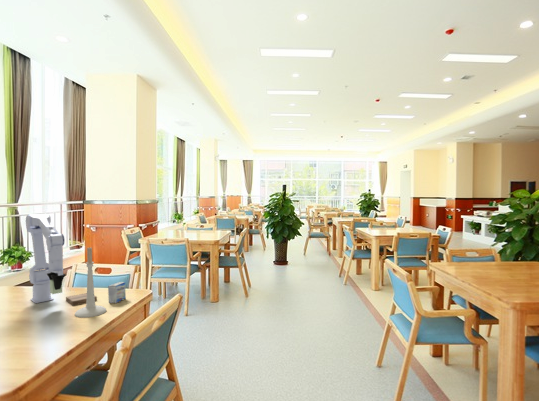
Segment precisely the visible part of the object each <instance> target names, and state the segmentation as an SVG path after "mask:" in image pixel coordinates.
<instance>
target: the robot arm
mask: <svg viewBox="0 0 539 401" xmlns="http://www.w3.org/2000/svg"><path fill="white" fill-rule="evenodd" d="M25 227H26V232H28V233H30V234H31V235H30V236H31V240H32V241H31V242H32V248H33V256H34V265H33V266H32V267H31V268H30V269H29V282H30V284H31V285H32V284H33V286H32V298H30V300H31V301H32V302H33V303H35V304H38V303H43V302H49V301H53V300H54V298H53V297H52V293H50V280H53V282H54V287H55V290H57V289H61V285H62V286H63V280H64V278H65V276H66V273H64V265H63V264H64V259H63V258H64V257H63V255H64V254H63V252H64V251H63V247H64V245H65V236H64V233H60V232H58V230H57V229H56V227H55V226H53V225H51V216H50V214H49V213H44V214H43V213H42V214H41V213H40V214H39V213H37V214H27V215H26V216H25ZM44 238H45V240H46V241H44ZM44 242H46V248H47V251H48V262H47V260H46V259H47V258H46V251H45V243H44Z"/></svg>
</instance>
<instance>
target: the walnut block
mask: <svg viewBox="0 0 539 401" xmlns="http://www.w3.org/2000/svg"><path fill="white" fill-rule="evenodd" d="M94 298H95V302H96V301H97V300H98V299H97V298H98V297H97V295H95V294H94ZM86 300H87V292H85V293H79V294H76V295H75V294H74V295H70V296H66V297H65V302H67V303H68V304H70V305H72V306H78V305H82V304H86Z"/></svg>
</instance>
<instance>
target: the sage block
mask: <svg viewBox="0 0 539 401" xmlns="http://www.w3.org/2000/svg"><path fill="white" fill-rule="evenodd" d="M50 293H51V295H56V294H61V293H63V284H62V285H61V289H57V290H55V287H54V282H53V280H50Z"/></svg>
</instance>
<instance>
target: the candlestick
mask: <svg viewBox="0 0 539 401" xmlns="http://www.w3.org/2000/svg"><path fill="white" fill-rule="evenodd" d="M86 251H87V252H86V254H87V255H86V257H87V259H86V260H87V261H86V262H85V264H86V268H87V273H86V274H87V276H86V277H87V278H86V279H87V280H86V293H87V300H86V303H85V304H86V305H85V306H83V307H81V308H79V309H77V310H76V311H75V312H74V317H76V318H81V319H82V318H83V319H85V318H86V319H87V318H92V317H97V316H101V315H104V314H105V313H106V312H107V307H104V306H102V305H96V301H95V298H94V295H95V286H94V274H93V273H94V272H93V271H94V270H93V267H94V263H95V262H94V261H93V247H86Z"/></svg>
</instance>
